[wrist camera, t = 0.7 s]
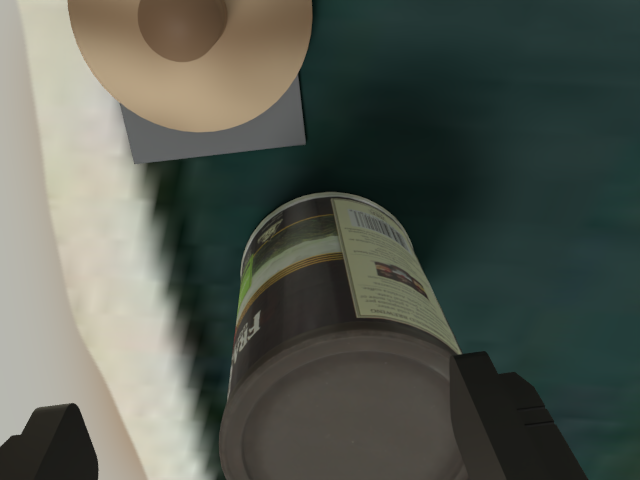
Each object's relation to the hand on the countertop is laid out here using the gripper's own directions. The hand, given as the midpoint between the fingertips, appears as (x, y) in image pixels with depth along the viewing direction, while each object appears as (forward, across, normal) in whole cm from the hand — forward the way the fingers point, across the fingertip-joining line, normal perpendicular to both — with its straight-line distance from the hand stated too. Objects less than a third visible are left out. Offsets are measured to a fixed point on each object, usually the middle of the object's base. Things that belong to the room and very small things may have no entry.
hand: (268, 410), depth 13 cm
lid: (+21, +3, -7) cm, 22 cm away
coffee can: (+21, -2, +8) cm, 23 cm away
